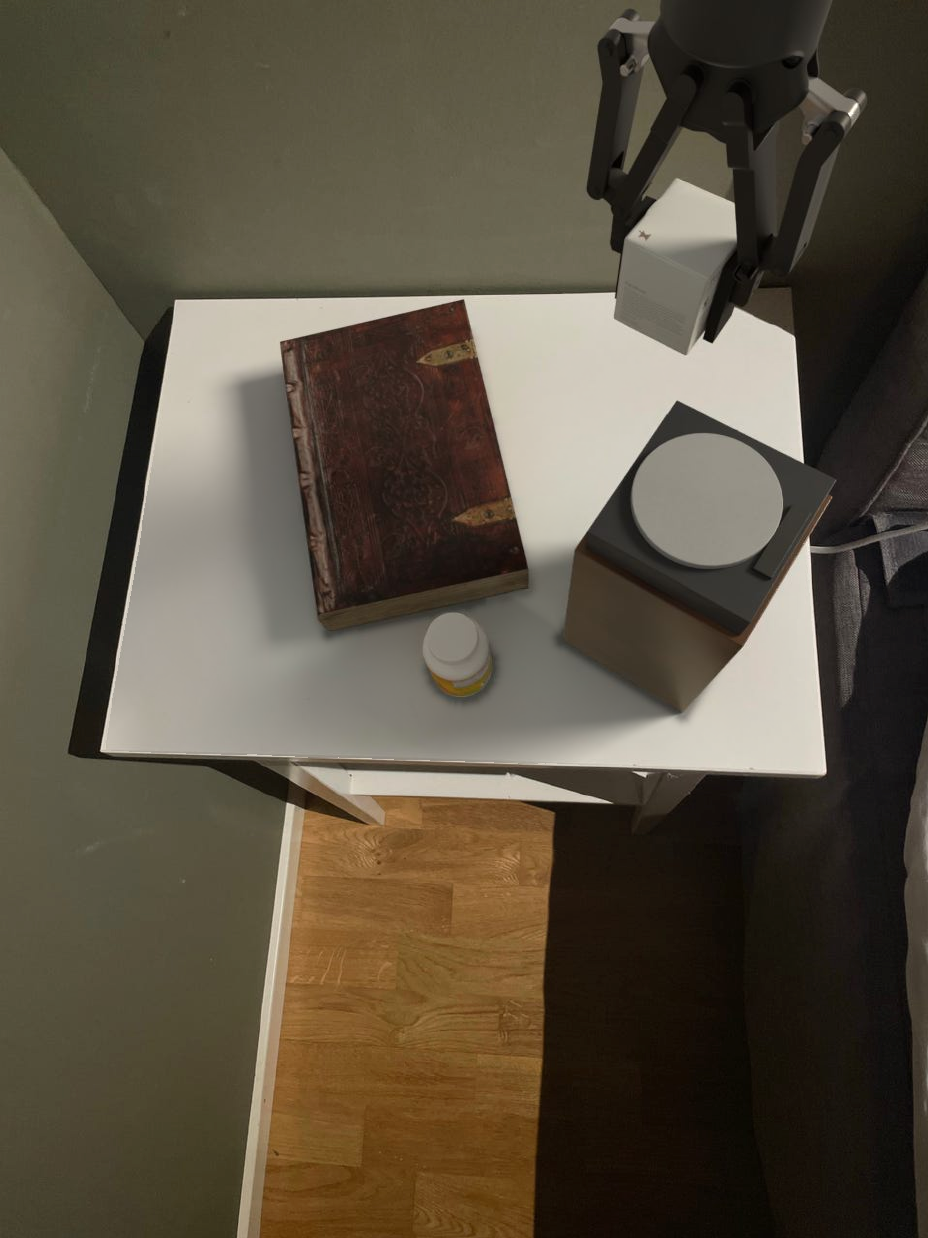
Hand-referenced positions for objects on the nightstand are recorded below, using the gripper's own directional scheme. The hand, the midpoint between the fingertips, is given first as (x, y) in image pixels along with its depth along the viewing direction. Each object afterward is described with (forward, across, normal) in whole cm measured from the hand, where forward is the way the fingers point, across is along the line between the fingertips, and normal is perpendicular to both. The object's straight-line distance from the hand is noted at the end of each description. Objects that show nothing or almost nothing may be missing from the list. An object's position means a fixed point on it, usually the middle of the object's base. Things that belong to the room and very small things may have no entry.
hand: (672, 306), depth 54 cm
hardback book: (+21, -18, -13) cm, 31 cm away
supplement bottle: (+21, -2, -26) cm, 34 cm away
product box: (+1, 0, 0) cm, 1 cm away
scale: (+1, +10, -13) cm, 16 cm away
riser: (+21, +10, -13) cm, 27 cm away
